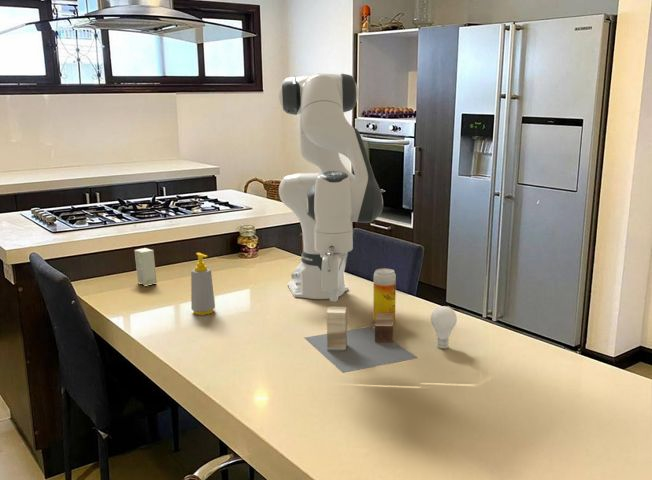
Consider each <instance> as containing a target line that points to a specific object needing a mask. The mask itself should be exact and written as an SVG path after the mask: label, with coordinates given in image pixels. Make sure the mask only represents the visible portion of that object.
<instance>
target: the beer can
mask: <svg viewBox="0 0 652 480" xmlns="http://www.w3.org/2000/svg"><path fill="white" fill-rule="evenodd" d="M396 277H397V274H396V273H395V270H394V269H391V268H378V269H375V270H374V273H373V303H372V304H373V307H372V308H373V313H372V314H373V315H372V316H373V317H372V319H373V322H375V321H376V313H393V323H395V321H396V299H397V298H396V295H397V294H396V293H397V292H396V291H397V287H396V286H397V285H396V282H397V281H396V280H397V278H396Z"/></svg>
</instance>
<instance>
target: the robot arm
mask: <svg viewBox="0 0 652 480" xmlns="http://www.w3.org/2000/svg"><path fill="white" fill-rule="evenodd" d="M358 98H359V88H358V84H357V82H356V79H355V78H354V77H353V76H352V75H351V74H345V73H340V74H339V73H338V74H337V73H317V74H308V75H299V76H296V75H294V76H288V77H286V78H284V80H283V81H282V82H281V85H280V87H279V91H278V99H279V103H280V106H281V107H282V110H283V111H284V112H285V113H286V114H289V115H293V116H297V115H299V137H300V138H299V139H300V154H301V156H302V158H303V159H304V160H305V161H306V162H308V163H309V164H311V165H314V166H316V167H317V168H318V169H319V170H320V172H298V173H292V174H288V175H285V176H284V177H283V178H282V179H281V180H280V183H279V186H278V196H279V199H280V200H281V202H282V203H283V204H284V206H286V207H287V208H289V209H290V210H291V211H292V212H293V213H294V215H295V216H296V217H297V219H298V220H299V223H300V226H301V230H302V241H303V250H301V251H302V252H301V257H300V258H301V259H300V261H301V262H300V263H299V264H298V265H297V266H296V267H295V268H294V270H293V271H294V272H291V274H290V275H291V276H290V277H291V280H290V281H288V282H287V286H289V287H288V288H290V289H289V290H290V292H291V294H292V295H293V297H295V298H305V299H310V300H311V299H313V300H330V302H337V301H338V298H339V297H340V296H343V295H344V293H345V292H346V291H349V287H348V285H345V275H344V273H345V269H346V267H347V266H346V265H347V257H348V252H352V250H353V249H354V246H353V245H354V241H353V235H354V234H353V230H354V229H353V225H352V223H353V222H355V223H365V224H366V223H367V224H368V223H369V224H370V223H372V222H374V221H375V220H376V219H377V218H378V217H380V215H381V214H382V212H383V208H384V199H383V198H384V197H383V195H382V191H381V189H380V186H379V184H378V182H377V180H376V178H375V175H374V171H373V169H372V165H371V163H370V159H369V156H368V152H367V149H366V146H365V144H364V141H363V138H362V135H361V134H360V132H359V129H357V128H356V127H355V126H352V125H351V123H349V121H348V120H347V118H346V117H345V113H347V112H350V111H352V110H353V109H354V108H355V107H356V105H357V102H358ZM340 154H341V155H342V156H345V157H346V158H347V159H348V160H349V161H350V164H351V166H352V170H353V173H352V172H351V171H350V170H348V168H347V167H346V166H345V165H344V164H343V162H342V160H341V157H340Z"/></svg>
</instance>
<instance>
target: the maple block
mask: <svg viewBox="0 0 652 480" xmlns="http://www.w3.org/2000/svg"><path fill="white" fill-rule="evenodd" d="M347 310H348V307H347V306H328V308H327V311H326V334H327V351H345V352H346V347H347V330H348V329H347V328H348V327H347V325H348V322H347V321H348V320H347V319H348V311H347Z"/></svg>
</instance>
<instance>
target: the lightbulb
mask: <svg viewBox="0 0 652 480" xmlns="http://www.w3.org/2000/svg"><path fill="white" fill-rule="evenodd" d="M457 321H458V319H457V314H456V312H455V311H454V310H453V308H451V307H449V306H446V305H443V306H437V307H436V308H434V309H433V311H432V313H431V314H430V323H431V326H432V327H433V329H434V330H435V333H436V337H437V347H438V348H439V349H442V350H445V349H448V348H449V338H450V337H451V333H452V330H454V329H455V327H456V325H457Z"/></svg>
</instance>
